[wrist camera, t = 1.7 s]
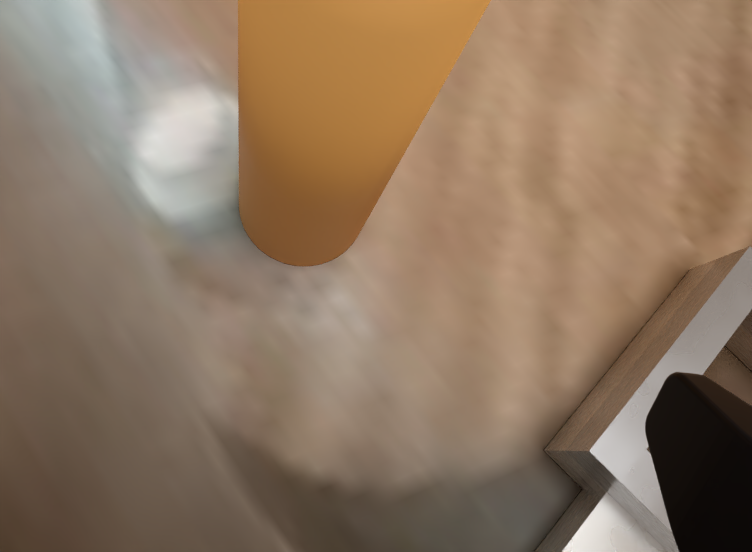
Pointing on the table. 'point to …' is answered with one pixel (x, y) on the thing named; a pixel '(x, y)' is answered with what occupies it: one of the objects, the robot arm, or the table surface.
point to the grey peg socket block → (645, 412)
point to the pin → (333, 110)
